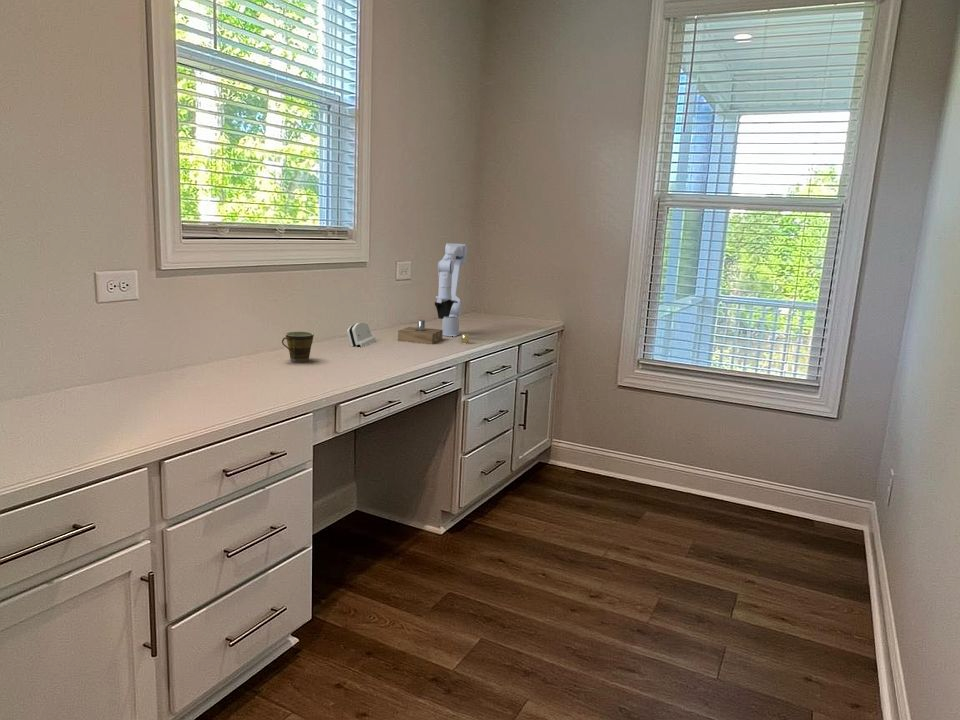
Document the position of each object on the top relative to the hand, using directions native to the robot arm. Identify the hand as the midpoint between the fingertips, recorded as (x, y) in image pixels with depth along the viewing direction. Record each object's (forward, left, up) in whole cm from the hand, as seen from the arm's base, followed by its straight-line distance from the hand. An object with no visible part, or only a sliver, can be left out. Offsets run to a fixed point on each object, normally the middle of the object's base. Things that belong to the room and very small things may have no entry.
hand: (443, 317), depth 310 cm
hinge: (+26, -28, -11) cm, 40 cm away
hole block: (+5, -9, -10) cm, 15 cm away
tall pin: (+5, -9, -10) cm, 14 cm away
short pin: (+2, +11, -11) cm, 15 cm away
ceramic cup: (+70, -33, -11) cm, 78 cm away
